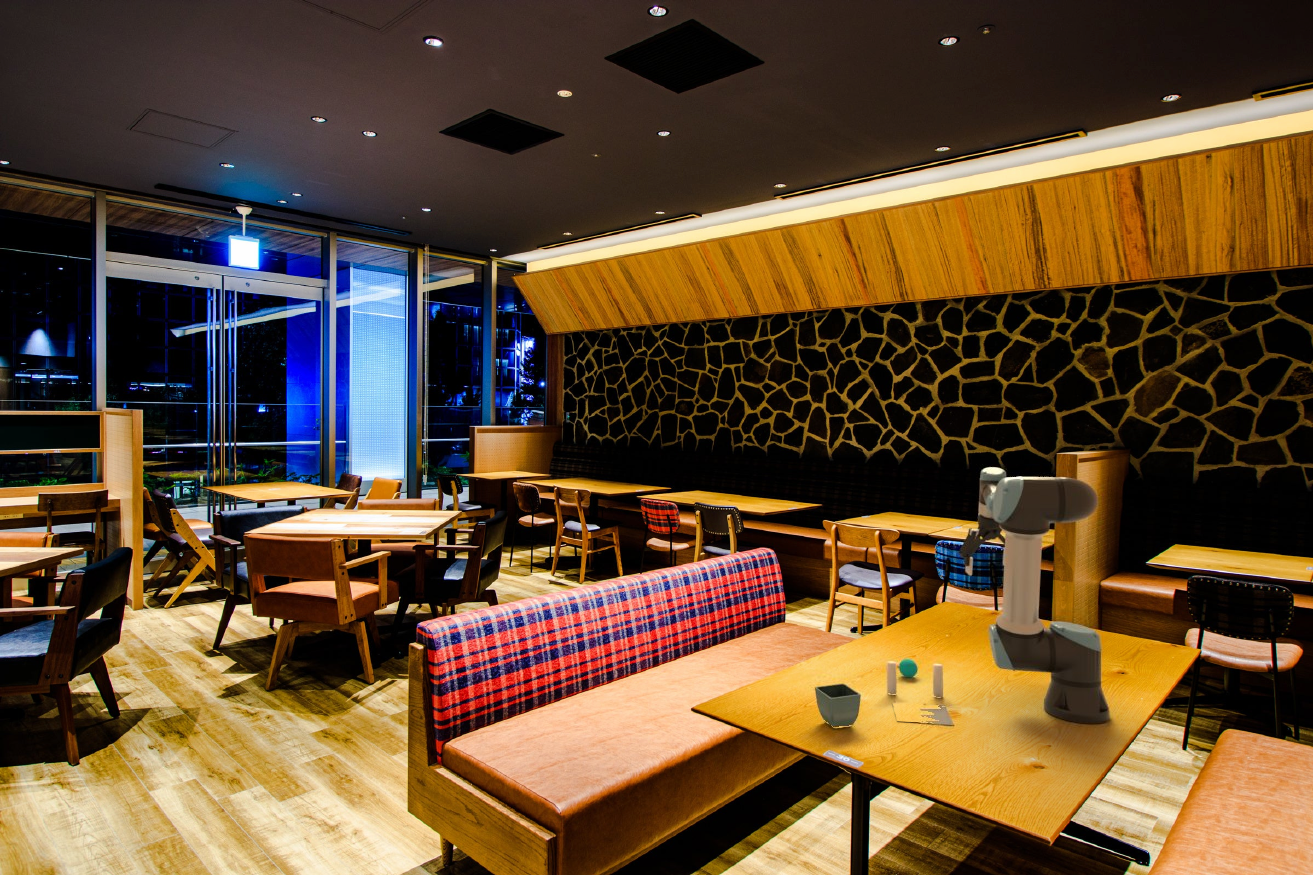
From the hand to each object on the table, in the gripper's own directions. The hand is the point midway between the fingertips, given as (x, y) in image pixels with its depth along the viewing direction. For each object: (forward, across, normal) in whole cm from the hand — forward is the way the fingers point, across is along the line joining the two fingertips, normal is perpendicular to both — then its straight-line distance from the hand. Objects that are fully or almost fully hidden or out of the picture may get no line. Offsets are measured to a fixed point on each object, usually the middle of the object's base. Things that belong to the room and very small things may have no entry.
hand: (987, 569), depth 243 cm
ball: (+14, +40, +22) cm, 48 cm away
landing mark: (+6, +50, +50) cm, 71 cm away
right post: (+11, +40, +40) cm, 57 cm away
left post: (+11, +51, +35) cm, 63 cm away
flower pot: (+1, +74, +52) cm, 91 cm away
